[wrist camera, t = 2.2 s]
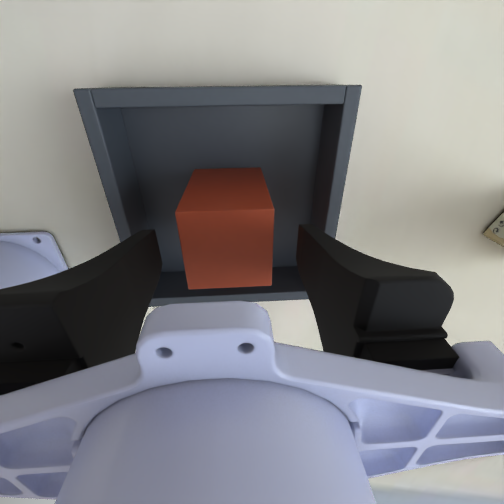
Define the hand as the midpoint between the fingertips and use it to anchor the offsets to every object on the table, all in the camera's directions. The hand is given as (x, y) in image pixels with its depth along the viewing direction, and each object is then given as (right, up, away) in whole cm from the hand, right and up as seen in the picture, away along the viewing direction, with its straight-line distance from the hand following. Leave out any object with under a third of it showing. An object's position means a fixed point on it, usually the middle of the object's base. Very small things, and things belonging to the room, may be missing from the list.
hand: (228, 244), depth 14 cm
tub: (0, +3, +6) cm, 7 cm away
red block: (0, +3, +5) cm, 6 cm away
